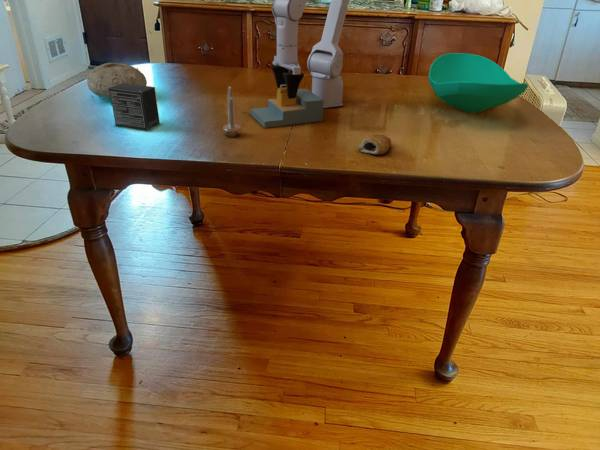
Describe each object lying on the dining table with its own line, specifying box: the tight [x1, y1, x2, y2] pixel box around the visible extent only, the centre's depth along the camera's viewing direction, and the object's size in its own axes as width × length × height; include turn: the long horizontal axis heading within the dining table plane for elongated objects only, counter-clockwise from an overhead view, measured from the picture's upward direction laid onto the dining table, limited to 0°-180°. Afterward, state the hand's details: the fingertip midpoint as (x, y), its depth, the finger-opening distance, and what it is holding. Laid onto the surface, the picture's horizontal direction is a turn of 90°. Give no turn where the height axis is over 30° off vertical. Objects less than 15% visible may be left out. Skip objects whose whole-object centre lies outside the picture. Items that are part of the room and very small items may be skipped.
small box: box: [109, 83, 161, 132], centre depth 123 cm, size 11×6×10 cm, turn 71°
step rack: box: [250, 88, 324, 129], centre depth 133 cm, size 18×12×6 cm, turn 114°
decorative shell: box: [86, 61, 148, 99], centre depth 144 cm, size 18×18×10 cm
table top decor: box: [428, 52, 529, 114], centre depth 143 cm, size 40×28×13 cm
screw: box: [222, 85, 242, 138], centre depth 118 cm, size 13×5×5 cm
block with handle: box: [276, 84, 296, 106], centre depth 131 cm, size 5×4×6 cm
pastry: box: [358, 134, 392, 156], centre depth 115 cm, size 9×7×4 cm
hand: (286, 94), depth 131 cm, fingers open, 7 cm apart
